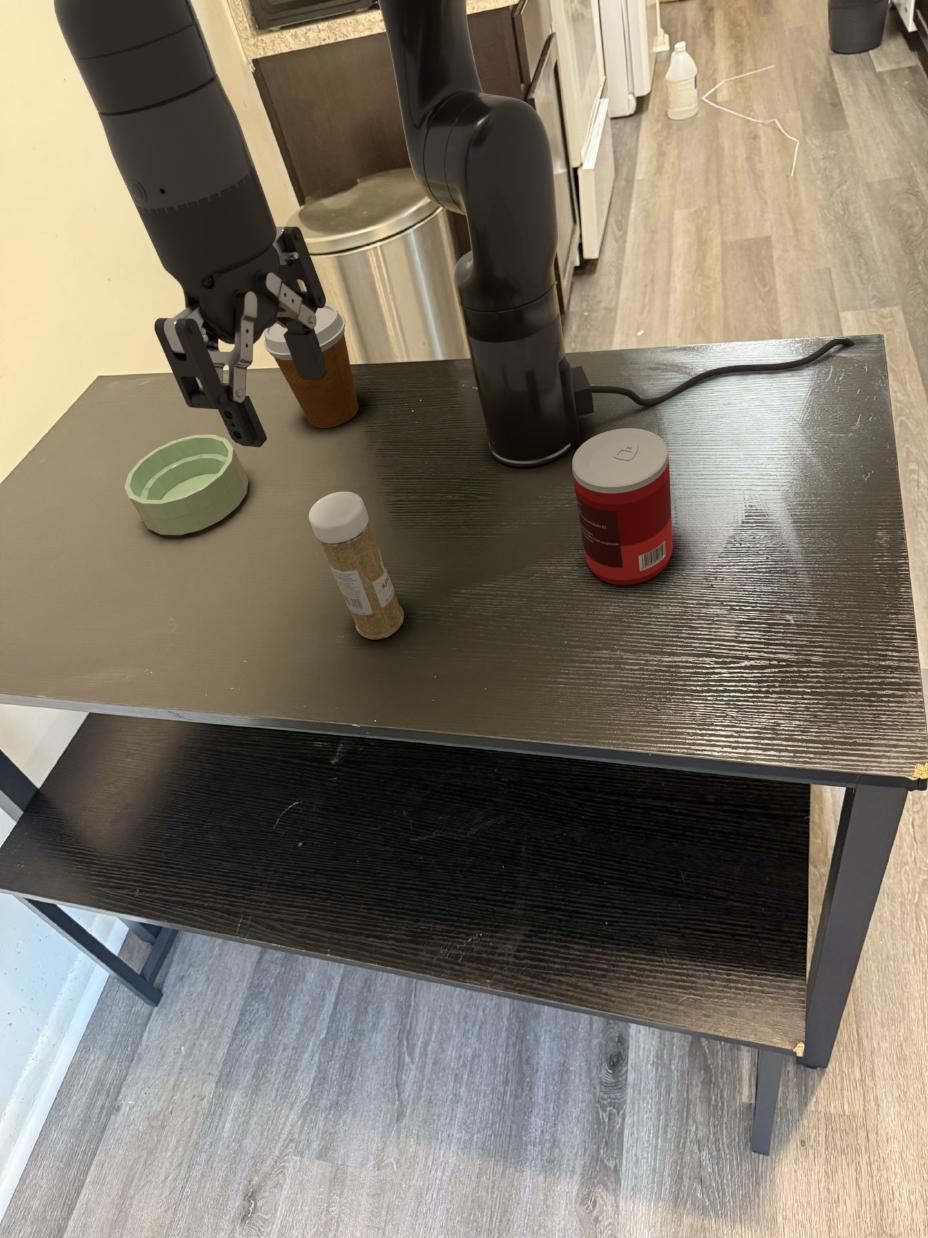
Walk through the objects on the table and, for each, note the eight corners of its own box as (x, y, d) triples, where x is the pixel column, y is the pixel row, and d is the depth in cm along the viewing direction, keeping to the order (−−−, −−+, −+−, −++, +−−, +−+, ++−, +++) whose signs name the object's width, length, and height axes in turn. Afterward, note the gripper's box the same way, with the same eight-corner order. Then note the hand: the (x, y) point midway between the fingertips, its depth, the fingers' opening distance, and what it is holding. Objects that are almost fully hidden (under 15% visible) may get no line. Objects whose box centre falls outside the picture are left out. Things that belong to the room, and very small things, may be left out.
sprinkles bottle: (414, 623, 77) (372, 505, 68) (371, 649, 76) (322, 533, 66) (389, 597, 80) (346, 481, 71) (347, 622, 79) (297, 508, 69)
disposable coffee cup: (287, 411, 108) (251, 322, 99) (357, 382, 109) (328, 292, 101) (307, 446, 101) (270, 353, 93) (382, 415, 103) (352, 321, 94)
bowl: (253, 460, 102) (236, 424, 98) (246, 523, 93) (228, 486, 89) (154, 484, 102) (134, 449, 99) (138, 550, 94) (116, 514, 90)
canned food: (680, 529, 78) (676, 427, 71) (664, 591, 73) (658, 488, 66) (596, 524, 81) (584, 425, 73) (576, 584, 76) (560, 484, 68)
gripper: (168, 227, 46) (276, 473, 57) (303, 126, 54) (374, 358, 66) (68, 231, 49) (189, 464, 60) (210, 135, 57) (293, 355, 69)
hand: (285, 409), depth 63 cm, fingers open, 8 cm apart
